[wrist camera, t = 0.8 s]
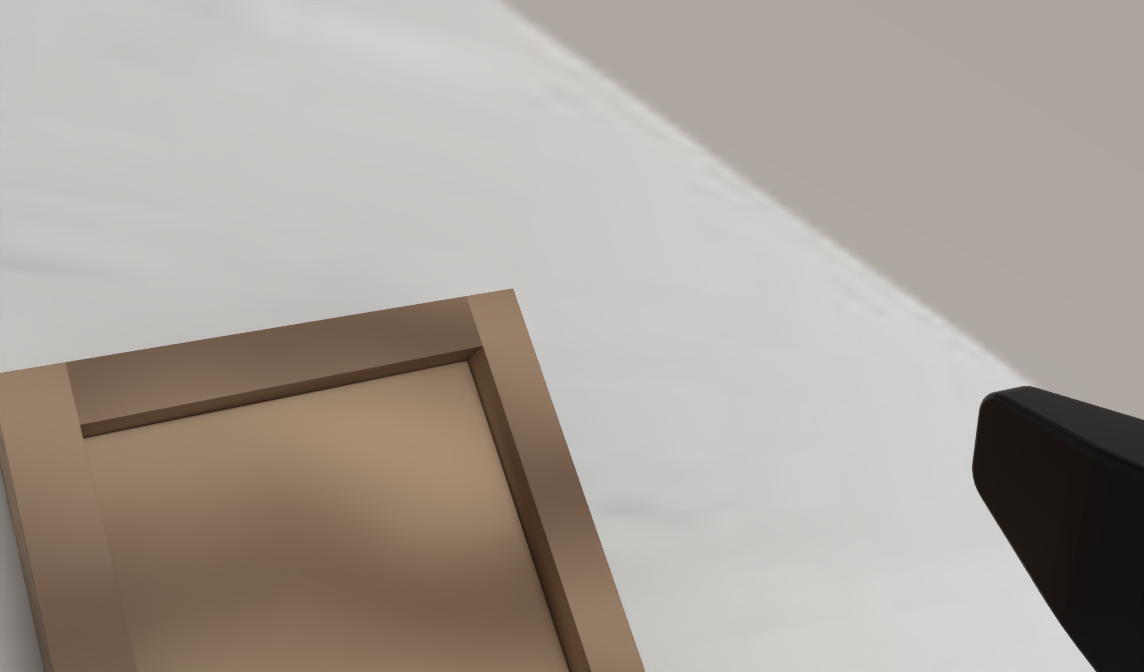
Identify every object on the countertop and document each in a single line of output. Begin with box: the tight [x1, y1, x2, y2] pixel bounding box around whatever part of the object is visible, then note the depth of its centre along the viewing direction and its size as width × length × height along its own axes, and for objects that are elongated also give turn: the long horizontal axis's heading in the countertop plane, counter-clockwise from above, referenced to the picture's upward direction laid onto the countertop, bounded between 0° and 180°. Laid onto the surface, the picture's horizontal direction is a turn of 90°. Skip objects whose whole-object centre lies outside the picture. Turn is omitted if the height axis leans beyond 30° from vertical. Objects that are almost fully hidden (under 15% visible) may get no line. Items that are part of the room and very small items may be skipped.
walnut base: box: [0, 289, 645, 672], centre depth 22 cm, size 11×11×4 cm
